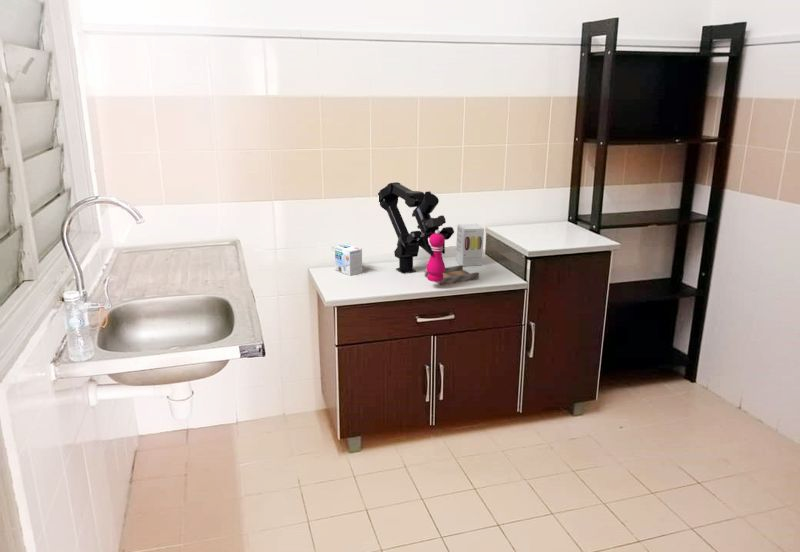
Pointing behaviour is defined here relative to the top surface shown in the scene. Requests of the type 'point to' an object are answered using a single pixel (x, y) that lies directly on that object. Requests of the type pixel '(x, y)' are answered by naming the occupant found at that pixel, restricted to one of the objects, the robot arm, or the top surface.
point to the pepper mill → (436, 258)
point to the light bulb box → (348, 259)
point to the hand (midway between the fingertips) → (438, 254)
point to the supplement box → (469, 244)
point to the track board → (456, 275)
